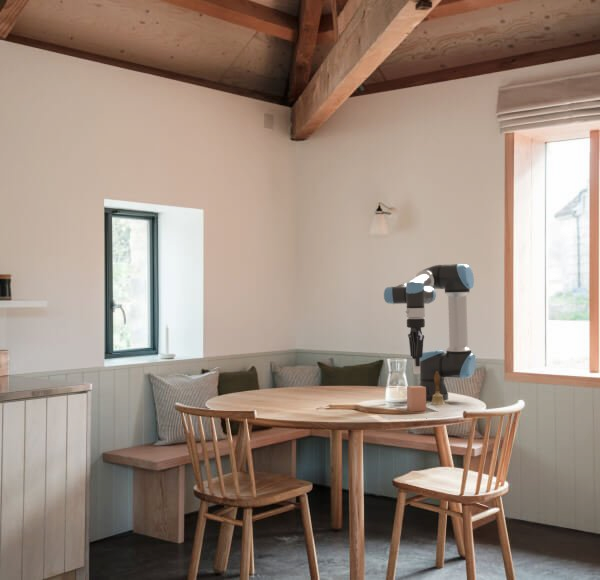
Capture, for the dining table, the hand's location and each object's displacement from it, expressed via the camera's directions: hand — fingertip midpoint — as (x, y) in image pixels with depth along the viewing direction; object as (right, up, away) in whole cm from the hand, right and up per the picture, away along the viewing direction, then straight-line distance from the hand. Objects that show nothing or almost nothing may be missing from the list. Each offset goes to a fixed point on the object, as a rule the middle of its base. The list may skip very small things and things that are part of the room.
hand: (416, 373), depth 334 cm
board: (0, -17, -1) cm, 17 cm away
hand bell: (+12, -17, +18) cm, 28 cm away
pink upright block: (0, -15, -1) cm, 15 cm away
